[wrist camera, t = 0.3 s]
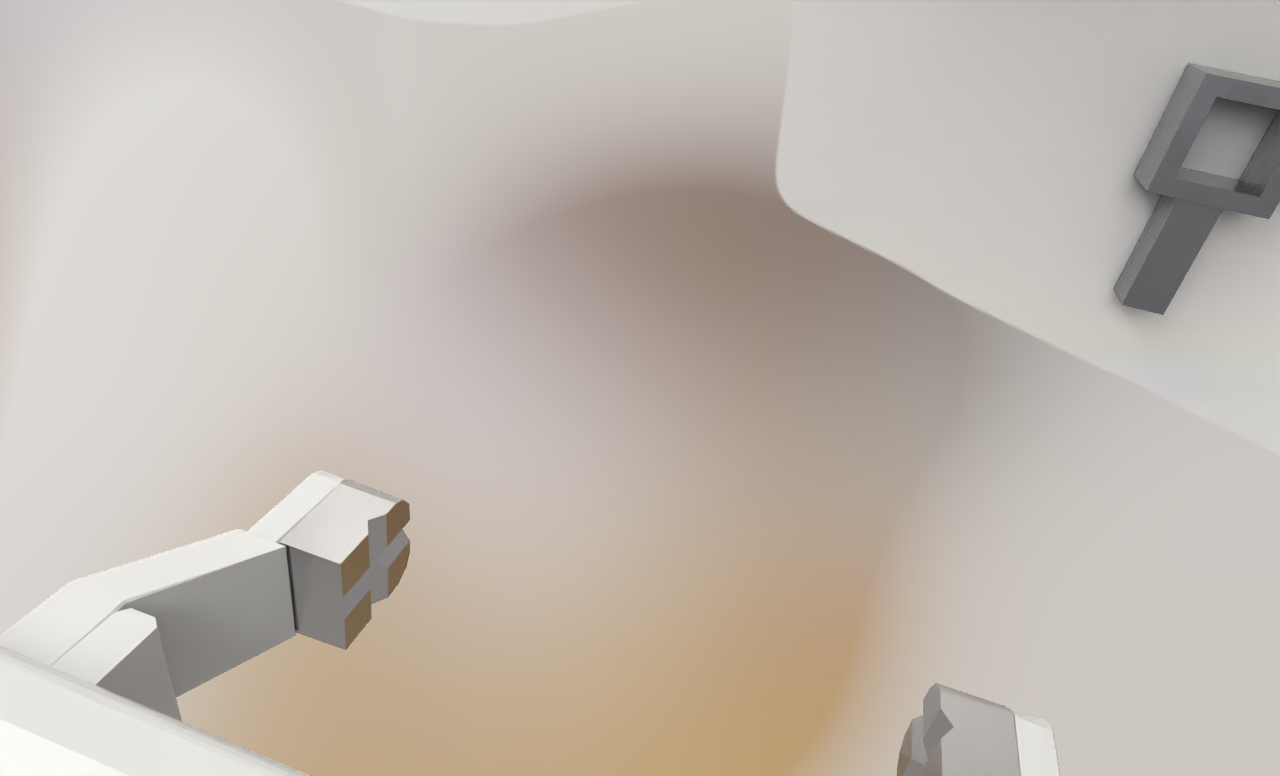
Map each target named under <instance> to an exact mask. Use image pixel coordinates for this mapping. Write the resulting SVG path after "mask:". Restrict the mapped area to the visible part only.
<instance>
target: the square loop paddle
mask: <svg viewBox="0 0 1280 776" xmlns="http://www.w3.org/2000/svg"><path fill="white" fill-rule="evenodd" d="M1216 97H1219V98H1224V99H1229V100H1234V101H1239V102H1243V103H1248V104H1253V105H1258V106H1263V107H1267V108H1272V109H1277V110H1279V111H1278V112H1277V114H1276V116H1275V118H1274V120H1273V121H1272V123H1271V125H1270V127H1269V128H1268V130H1267V132H1266V134H1265V135H1264V137H1263V139H1262V141H1261V142H1260V144H1259V146H1258V148H1257V149H1256V151H1255V153H1254V155H1253V157H1252V158H1251V160H1250V162H1249V164H1248V165H1247V167H1246V169H1245V171H1244V172H1243V174H1242V176H1241V178H1240V179H1239V180H1235V179H1231V178H1226V177H1222V176H1217V175H1213V174H1209V173H1204V172H1200V171H1195V170H1191V169H1186V168H1182V167H1180V166H1181V164H1182V162H1183V160H1184V159H1185V157H1186V155H1187V153H1188V151H1189V149H1190V147H1191V145H1192V143H1193V141H1194V139H1195V137H1196V136H1197V134H1198V132H1199V130H1200V128H1201V126H1202V124H1203V122H1204V120H1205V118H1206V116H1207V114H1208V113H1209V111H1210V109H1211V107H1212V105H1213V103H1214V101H1215V99H1216ZM1134 176H1135V178H1136V179H1137V180H1138V181H1139V182H1140V184H1141V185H1142V186H1143V187H1144V189H1145V190H1146V191H1148V192H1153V193H1157V194H1161V195H1162V197H1161V199H1160V200H1159V202H1158V204H1157V206H1156V208H1155V210H1154V212H1153V214H1152V216H1151V218H1150V220H1149V222H1148V224H1147V225H1146V227H1145V229H1144V231H1143V233H1142V235H1141V237H1140V239H1139V241H1138V243H1137V245H1136V247H1135V249H1134V251H1133V252H1132V254H1131V256H1130V258H1129V260H1128V262H1127V264H1126V266H1125V268H1124V270H1123V272H1122V274H1121V276H1120V277H1119V279H1118V281H1117V283H1116V285H1115V287H1114V290H1115V292H1116V294H1117V296H1118V298H1119V300H1120V302H1121V304H1122V305H1126V306H1130V307H1134V308H1138V309H1142V310H1146V311H1150V312H1154V313H1158V314H1162V315H1163V314H1164V312H1165V310H1166V309H1167V307H1168V305H1169V303H1170V302H1171V300H1172V298H1173V296H1174V295H1175V293H1176V291H1177V289H1178V288H1179V286H1180V284H1181V282H1182V281H1183V279H1184V277H1185V275H1186V273H1187V272H1188V270H1189V268H1190V266H1191V265H1192V263H1193V261H1194V259H1195V258H1196V256H1197V254H1198V252H1199V251H1200V249H1201V247H1202V245H1203V243H1204V242H1205V240H1206V238H1207V236H1208V235H1209V233H1210V231H1211V229H1212V228H1213V226H1214V224H1215V222H1216V221H1217V219H1218V217H1219V215H1220V214H1221V212H1222V210H1223V209H1227V210H1231V211H1235V212H1240V213H1244V214H1248V215H1253V216H1257V217H1261V218H1266V219H1269V218H1270V216H1271V215H1272V213H1273V212H1274V210H1275V208H1276V207H1277V205H1278V203H1279V202H1280V82H1279V81H1274V80H1269V79H1264V78H1259V77H1254V76H1249V75H1244V74H1239V73H1234V72H1229V71H1224V70H1220V69H1215V68H1210V67H1205V66H1200V65H1195V64H1190V63H1188V65H1187V67H1186V69H1185V71H1184V73H1183V75H1182V77H1181V79H1180V81H1179V83H1178V85H1177V87H1176V90H1175V92H1174V94H1173V96H1172V98H1171V100H1170V102H1169V104H1168V106H1167V108H1166V110H1165V112H1164V114H1163V116H1162V118H1161V120H1160V122H1159V124H1158V126H1157V128H1156V130H1155V132H1154V134H1153V136H1152V138H1151V140H1150V142H1149V144H1148V146H1147V148H1146V150H1145V152H1144V154H1143V156H1142V158H1141V161H1140V163H1139V165H1138V167H1137V169H1136V171H1135V173H1134Z"/></svg>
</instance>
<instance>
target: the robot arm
mask: <svg viewBox="0 0 1280 776" xmlns="http://www.w3.org/2000/svg"><path fill="white" fill-rule="evenodd" d="M409 520H410V514H409V503H407V502H406V501H404V500H402V499H399V498H396V497H394V496H391V495H388V494H386V493H383V492H381V491H378V490H375V489H373V488H370V487H367V486H365V485H362V484H359V483H357V482H354V481H351V480H347V479H345V478H342V477H339V476H337V475H334V474H331V473H329V472H326V471H323V470H320V471H317V472H314V473H312V474H310V475H309V476H308V477H307V478H306V479H305V480H304V481H303V482H301V483H300V485H298V486H297V487H296V488H295V489H294V490H293V491H291V492H290V493H289V494H288V495H287V496H286V497H285V498H284V499H283V500H281V501H280V502H279V503H278V504H277V505H276V506H275V507H274V508H273V509H271V510H270V511H269V512H268V513H267V514H266V515H265V516H263V517H262V518H261V519H260V520H259V521H258V522H257V523H256V524H255V525H253V526H252V527H251V528H250V529H249V530H248V531H247V532H246V531H243V530H240V529H236V530H233V531H230V532H226V533H224V534H220V535H217V536H214V537H210V538H207V539H204V540H201V541H198V542H194V543H191V544H188V545H185V546H181V547H178V548H175V549H172V550H169V551H166V552H162V553H159V554H156V555H152V556H149V557H146V558H143V559H140V560H137V561H134V562H130V563H127V564H124V565H120V566H117V567H114V568H111V569H108V570H104V571H101V572H98V573H95V574H91V575H89V576H85V577H82V578H79V579H75V580H72V581H70V582H69V583H68V584H66V585H65V586H64V587H62V588H61V589H60V590H58V591H57V592H56V593H55V594H53V595H52V596H51V597H49V598H48V599H47V600H45V601H44V602H43V603H41V604H40V605H39V606H38V607H36V608H35V609H34V610H33V611H31V612H30V613H28V614H27V615H26V616H25V617H23V618H22V619H21V620H19V621H18V622H17V623H16V624H14V625H13V626H12V627H10V628H9V629H8V630H6V631H5V632H4V633H2V634H1V635H0V776H310V775H308V774H306V773H303V772H301V771H298V770H296V769H294V768H291V767H289V766H287V765H284V764H282V763H279V762H277V761H275V760H272V759H270V758H268V757H265V756H263V755H260V754H258V753H256V752H253V751H251V750H248V749H246V748H243V747H241V746H239V745H236V744H234V743H232V742H229V741H227V740H225V739H222V738H220V737H218V736H215V735H212V734H210V733H208V732H206V731H203V730H201V729H198V728H196V727H194V726H191V725H189V724H187V723H184V722H182V720H181V716H180V712H179V708H178V704H177V700H176V697H178V696H180V695H182V694H184V693H185V692H187V691H189V690H191V689H193V688H195V687H197V686H199V685H201V684H203V683H205V682H207V681H209V680H210V679H213V678H214V677H216V676H218V675H220V674H222V673H224V672H226V671H228V670H230V669H232V668H234V667H236V666H238V665H240V664H241V663H243V662H245V661H247V660H249V659H251V658H253V657H255V656H257V655H259V654H261V653H263V652H265V651H267V650H269V649H270V648H272V647H274V646H276V645H278V644H280V643H282V642H284V641H286V640H288V639H290V638H292V637H294V636H295V634H296V633H299V634H302V635H305V636H308V637H311V638H313V639H316V640H319V641H322V642H325V643H328V644H331V645H333V646H336V647H339V648H342V649H345V650H346V649H347V648H348V647H349V646H350V644H351V643H352V642H353V640H354V639H355V638H356V637H357V636H358V634H359V633H360V631H362V629H363V628H364V627H365V625H366V624H367V623H368V622H369V620H370V619H371V604H373V603H376V602H378V601H380V600H383V599H385V598H388V596H389V595H390V594H391V593H392V591H393V590H394V589H395V587H396V586H397V585H398V583H399V581H400V579H401V577H402V575H403V573H404V570H405V569H406V566H407V562H408V558H409V553H410V540H409V539H408V537H407V536H406V534H405V533H404V531H403V529H402V528H403V527H404V526H405V525H406V524H407V523H408V521H409ZM295 632H296V633H295ZM923 706H924V708H923V716H920V717H918V718H915V719H913V720H912V722H911V724H910V726H909V728H908V730H907V732H906V734H905V736H904V740H903V743H902V746H901V750H900V754H899V760H898V767H897V776H1060V770H1059V764H1058V758H1057V752H1056V746H1055V740H1054V734H1053V728H1052V727H1051V725H1050V723H1049V722H1048V721H1047V720H1044V719H1041V718H1038V717H1035V716H1032V715H1029V714H1026V713H1023V712H1020V711H1017V710H1014V709H1011V708H1007V707H1005V706H1003V705H999V704H996V703H994V702H991V701H988V700H984V699H982V698H979V697H976V696H973V695H970V694H967V693H964V692H961V691H958V690H955V689H952V688H949V687H946V686H943V685H940V684H934V685H933V686H932V687H931V688H930V689H929V691H928V693H927V694H926V696H925V698H924V705H923Z"/></svg>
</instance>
